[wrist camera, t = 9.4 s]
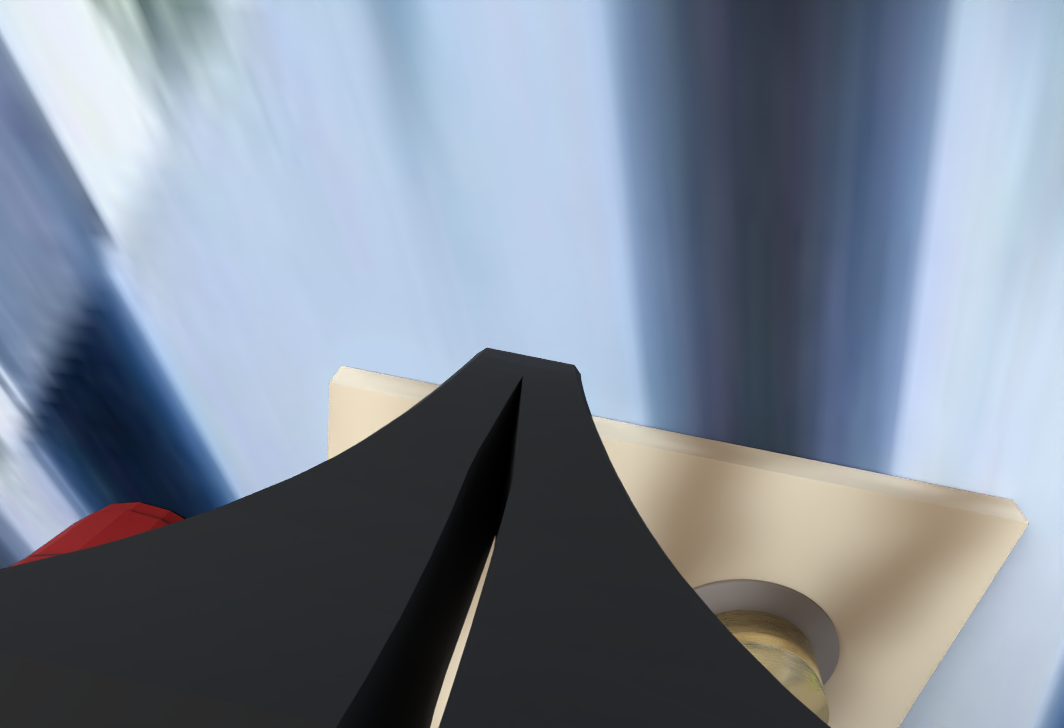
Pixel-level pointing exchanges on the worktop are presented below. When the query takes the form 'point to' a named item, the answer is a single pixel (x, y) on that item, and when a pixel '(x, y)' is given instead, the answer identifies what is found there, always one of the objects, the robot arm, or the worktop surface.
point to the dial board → (782, 545)
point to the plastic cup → (105, 528)
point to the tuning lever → (781, 654)
